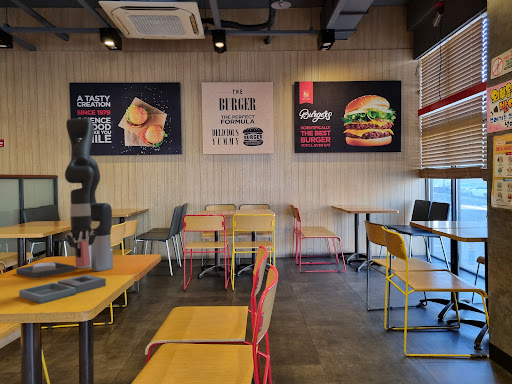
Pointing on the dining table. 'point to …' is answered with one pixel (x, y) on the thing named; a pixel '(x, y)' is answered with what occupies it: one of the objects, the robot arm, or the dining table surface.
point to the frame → (28, 271)
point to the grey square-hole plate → (84, 282)
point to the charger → (43, 267)
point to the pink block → (83, 255)
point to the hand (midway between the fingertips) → (82, 256)
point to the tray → (47, 292)
